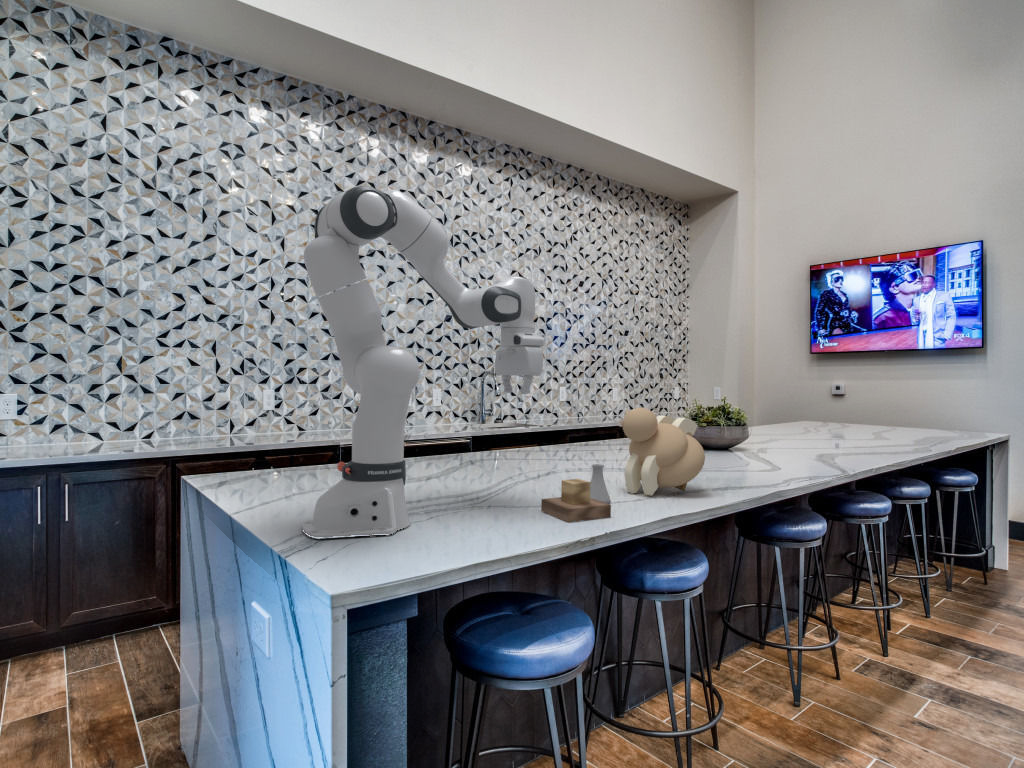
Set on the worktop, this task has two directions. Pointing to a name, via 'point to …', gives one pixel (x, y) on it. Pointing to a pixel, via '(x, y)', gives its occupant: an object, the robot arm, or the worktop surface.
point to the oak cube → (575, 491)
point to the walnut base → (576, 509)
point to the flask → (598, 485)
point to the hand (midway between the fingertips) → (516, 393)
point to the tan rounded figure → (660, 451)
